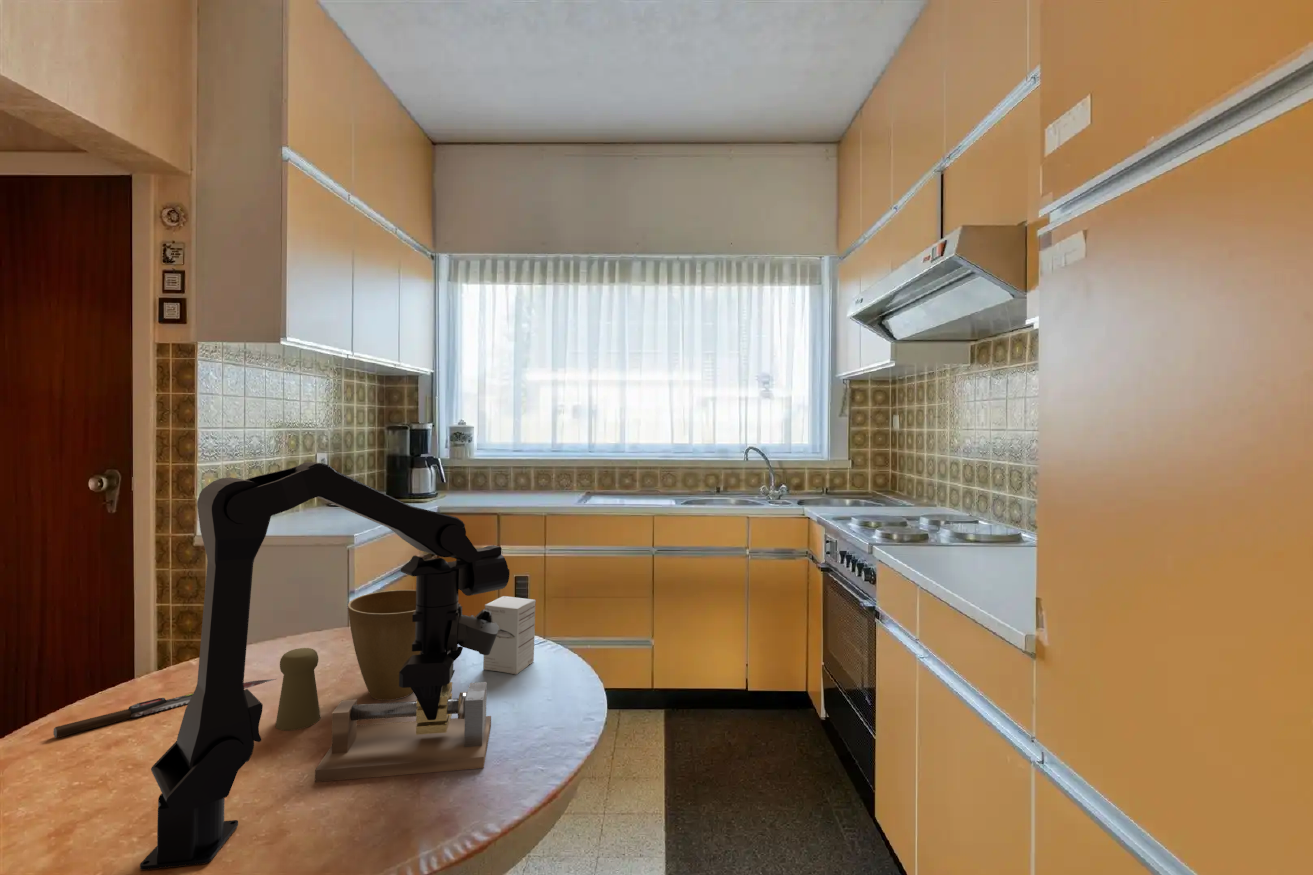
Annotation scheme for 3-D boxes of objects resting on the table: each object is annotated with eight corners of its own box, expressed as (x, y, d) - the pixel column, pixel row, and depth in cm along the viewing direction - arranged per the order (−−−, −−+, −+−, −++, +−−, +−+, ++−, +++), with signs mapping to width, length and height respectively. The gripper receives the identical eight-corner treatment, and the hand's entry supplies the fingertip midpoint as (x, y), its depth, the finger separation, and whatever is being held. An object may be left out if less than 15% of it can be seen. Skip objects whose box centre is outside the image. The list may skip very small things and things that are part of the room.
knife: (286, 674, 110) (56, 732, 86) (285, 683, 110) (55, 744, 86) (280, 667, 111) (53, 722, 88) (279, 676, 112) (52, 733, 88)
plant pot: (336, 715, 95) (338, 615, 95) (356, 678, 110) (358, 591, 110) (435, 706, 99) (437, 609, 99) (442, 671, 114) (444, 587, 114)
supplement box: (481, 670, 114) (483, 604, 114) (502, 656, 122) (503, 594, 122) (516, 675, 112) (517, 608, 112) (535, 661, 119) (536, 598, 119)
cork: (299, 732, 90) (301, 659, 90) (265, 727, 91) (266, 655, 91) (329, 714, 96) (330, 645, 96) (296, 710, 97) (298, 642, 97)
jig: (483, 767, 81) (484, 716, 81) (314, 781, 77) (315, 727, 77) (491, 725, 93) (491, 680, 93) (344, 735, 89) (345, 688, 89)
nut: (446, 732, 84) (446, 696, 84) (416, 734, 83) (416, 698, 83) (451, 715, 89) (452, 682, 89) (423, 717, 88) (423, 683, 88)
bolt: (482, 745, 84) (482, 699, 84) (337, 756, 81) (337, 708, 81) (486, 725, 90) (486, 681, 90) (351, 734, 87) (351, 689, 87)
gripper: (490, 619, 78) (487, 739, 78) (499, 584, 96) (498, 680, 97) (399, 623, 76) (397, 745, 76) (426, 586, 94) (425, 685, 94)
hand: (435, 710), depth 86 cm, fingers closed on nut, 5 cm apart
